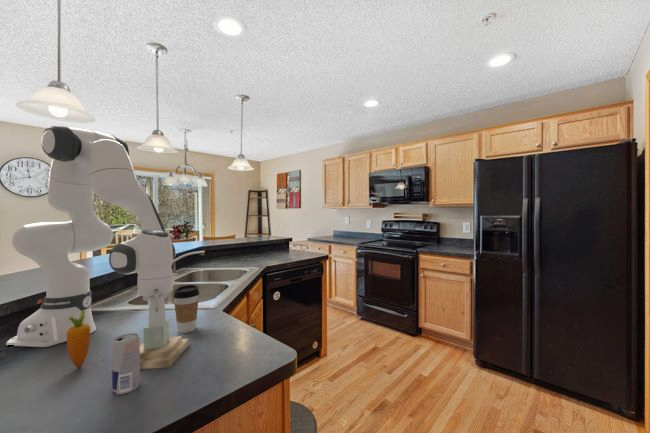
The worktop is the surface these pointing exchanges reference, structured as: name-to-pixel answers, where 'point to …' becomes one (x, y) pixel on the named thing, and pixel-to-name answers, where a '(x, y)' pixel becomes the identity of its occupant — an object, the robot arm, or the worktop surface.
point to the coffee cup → (186, 307)
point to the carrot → (78, 340)
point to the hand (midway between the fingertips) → (156, 333)
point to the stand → (163, 353)
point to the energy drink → (125, 363)
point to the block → (149, 337)
